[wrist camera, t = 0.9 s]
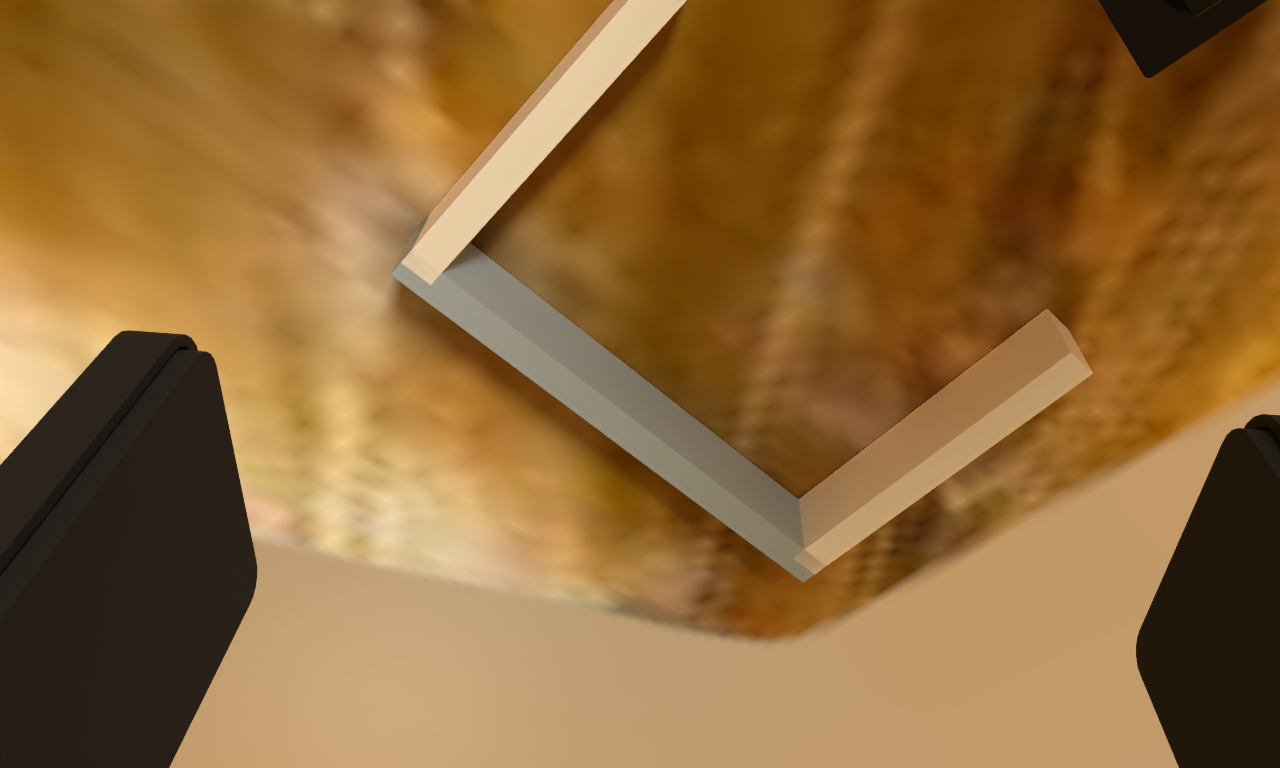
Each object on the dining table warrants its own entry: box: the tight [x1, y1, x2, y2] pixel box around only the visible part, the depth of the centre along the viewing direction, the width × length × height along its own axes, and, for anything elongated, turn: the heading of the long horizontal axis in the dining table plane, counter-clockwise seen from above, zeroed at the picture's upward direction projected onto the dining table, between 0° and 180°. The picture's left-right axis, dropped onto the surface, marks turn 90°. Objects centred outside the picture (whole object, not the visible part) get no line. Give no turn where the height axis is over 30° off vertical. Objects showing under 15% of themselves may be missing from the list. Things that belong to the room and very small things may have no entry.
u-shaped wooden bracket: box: [390, 0, 1093, 583], centre depth 37 cm, size 13×19×3 cm
